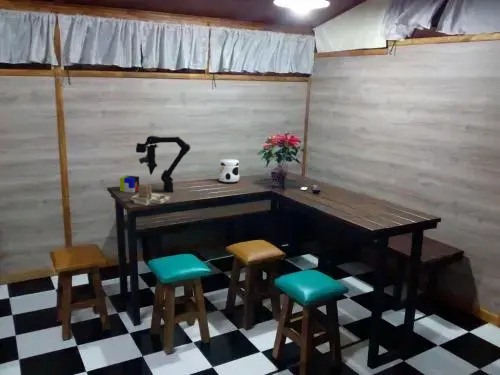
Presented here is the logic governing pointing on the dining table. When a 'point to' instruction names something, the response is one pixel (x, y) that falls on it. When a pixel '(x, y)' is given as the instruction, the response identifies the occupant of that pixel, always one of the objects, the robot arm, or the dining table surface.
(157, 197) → the board
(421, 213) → the dining table surface
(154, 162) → the robot arm
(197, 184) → the dining table surface
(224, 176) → the milk container
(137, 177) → the puzzle toy
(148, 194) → the walnut block
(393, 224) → the dining table surface
